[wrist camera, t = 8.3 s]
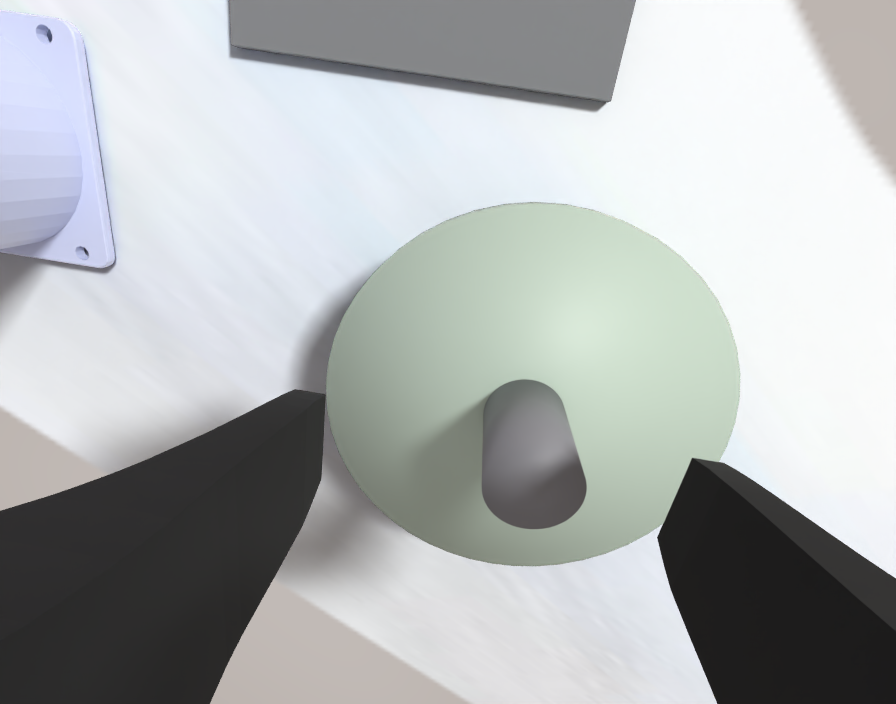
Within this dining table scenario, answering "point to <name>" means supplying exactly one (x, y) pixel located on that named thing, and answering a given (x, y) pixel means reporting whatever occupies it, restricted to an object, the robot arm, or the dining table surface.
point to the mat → (452, 38)
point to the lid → (531, 383)
